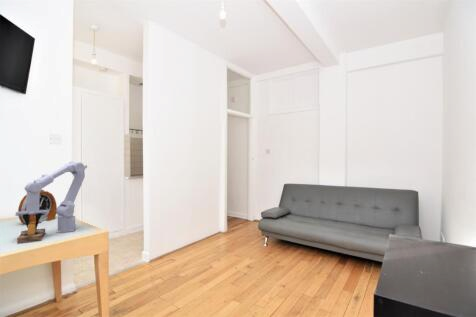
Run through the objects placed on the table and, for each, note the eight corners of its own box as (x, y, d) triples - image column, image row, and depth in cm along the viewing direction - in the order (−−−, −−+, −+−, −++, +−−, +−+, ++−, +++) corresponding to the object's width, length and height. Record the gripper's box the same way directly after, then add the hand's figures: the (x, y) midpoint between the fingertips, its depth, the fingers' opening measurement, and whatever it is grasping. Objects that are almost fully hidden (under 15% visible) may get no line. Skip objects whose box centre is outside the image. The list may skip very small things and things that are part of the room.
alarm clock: (29, 226, 161) (30, 192, 161) (17, 225, 163) (17, 191, 163) (59, 218, 183) (59, 188, 183) (47, 217, 184) (48, 187, 184)
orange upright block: (36, 231, 142) (36, 221, 142) (34, 234, 136) (34, 224, 136) (30, 231, 141) (30, 222, 141) (27, 235, 135) (27, 225, 135)
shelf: (45, 233, 148) (45, 225, 148) (41, 240, 135) (41, 232, 135) (23, 235, 143) (23, 227, 142) (17, 243, 130) (17, 235, 130)
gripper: (14, 205, 131) (13, 230, 131) (47, 203, 139) (47, 227, 139) (17, 203, 137) (16, 227, 137) (49, 201, 145) (49, 224, 145)
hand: (32, 227), depth 139 cm, fingers closed on orange upright block, 3 cm apart
